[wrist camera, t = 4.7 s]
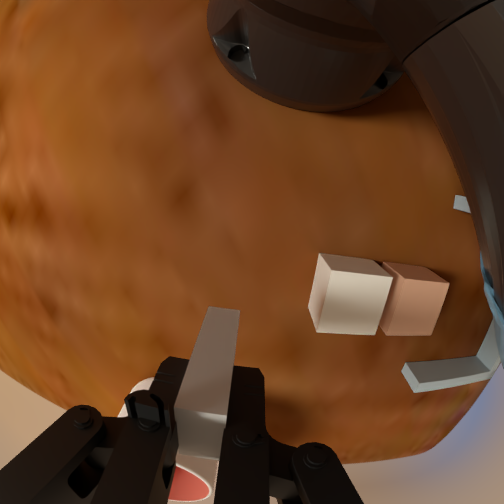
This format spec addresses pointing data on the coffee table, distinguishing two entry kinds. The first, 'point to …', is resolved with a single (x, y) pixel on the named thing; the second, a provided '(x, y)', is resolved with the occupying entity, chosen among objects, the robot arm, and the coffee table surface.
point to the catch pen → (457, 369)
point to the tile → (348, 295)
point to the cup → (186, 468)
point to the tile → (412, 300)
